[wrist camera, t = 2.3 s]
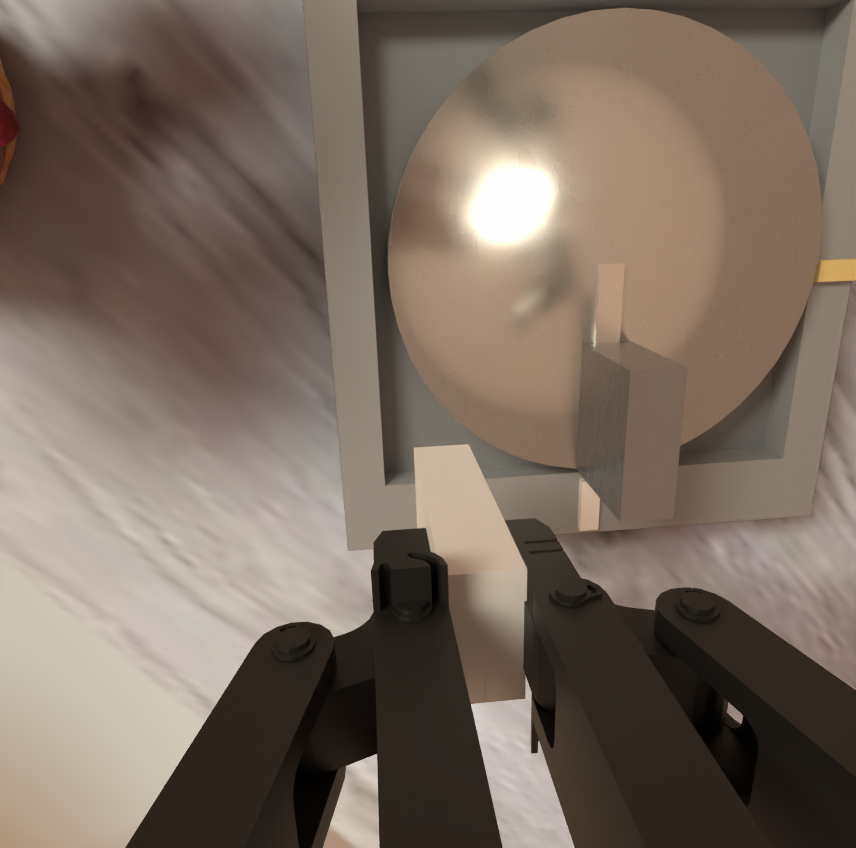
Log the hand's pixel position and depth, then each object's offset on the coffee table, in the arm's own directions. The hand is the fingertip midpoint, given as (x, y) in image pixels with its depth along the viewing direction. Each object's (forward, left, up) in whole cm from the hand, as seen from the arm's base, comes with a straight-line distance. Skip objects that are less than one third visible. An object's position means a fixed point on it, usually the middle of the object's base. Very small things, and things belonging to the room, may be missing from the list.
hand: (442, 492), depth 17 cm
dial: (-6, +6, -6) cm, 10 cm away
